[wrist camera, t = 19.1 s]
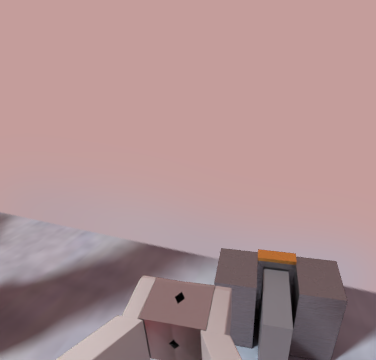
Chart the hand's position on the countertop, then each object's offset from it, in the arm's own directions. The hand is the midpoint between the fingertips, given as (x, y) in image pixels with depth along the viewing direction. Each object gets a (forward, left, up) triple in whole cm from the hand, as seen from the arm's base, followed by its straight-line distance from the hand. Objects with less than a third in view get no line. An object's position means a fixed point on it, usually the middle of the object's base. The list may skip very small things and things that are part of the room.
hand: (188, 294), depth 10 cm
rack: (+5, +21, -30) cm, 37 cm away
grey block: (+5, +18, -30) cm, 36 cm away
